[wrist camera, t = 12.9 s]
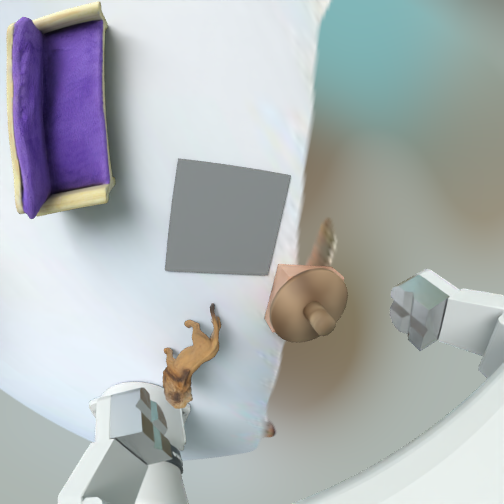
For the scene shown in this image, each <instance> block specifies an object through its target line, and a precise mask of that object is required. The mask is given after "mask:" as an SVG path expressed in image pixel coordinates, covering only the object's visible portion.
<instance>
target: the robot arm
mask: <svg viewBox="0 0 504 504" xmlns="http://www.w3.org/2000/svg"><path fill="white" fill-rule="evenodd" d="M391 298H392V299H393V300H394V301H393V303H392V305H391V307H390V317H391V320H392V323H393V324H394V326H395V327H396V328H397V329H398V330H399V331H400V332H403V333H406V334H408V340H409V341H410V342H411V343H412V344H413V345H414V346H415V347H416V348H417V349H418V350H419V351H421V350H423V349H424V348H426V347H428V346H429V345H431V344H432V343H434V342H435V341H437V340H438V341H440V342H443V343H446V344H448V345H451V346H454V347H457V348H460V349H463V350H466V351H469V352H472V353H475V354H478V355H481V356H483V358H482V360H481V362H480V364H479V371H480V372H481V373H482V374H483V375H484V376H485V377H486V378H487V380H486V381H485V382H484V383H483V384H482V385H481V386H479V387H478V388H477V389H476V390H475V391H474V392H473V393H472V394H471V395H470V396H469V397H467V398H466V399H465V400H464V401H463V402H462V403H461V404H460V405H458V406H457V407H456V408H455V409H453V410H452V411H451V412H450V413H449V414H447V415H446V416H445V417H444V418H442V419H441V420H440V421H438V422H437V423H436V424H435V425H433V426H432V427H431V428H429V429H428V430H427V431H425V432H424V433H422V434H421V435H420V436H418V437H417V438H415V439H414V440H412V441H411V442H409V443H408V444H407V445H405V446H403V447H402V448H401V449H399V450H397V451H396V452H394V453H393V454H391V455H389V456H388V457H386V458H384V459H383V460H381V461H379V462H378V463H376V464H374V465H373V466H371V467H369V468H367V469H365V470H363V471H362V472H360V473H358V474H356V475H354V476H352V477H350V478H348V479H346V480H344V481H342V482H340V483H338V484H336V485H334V486H332V487H330V488H327V489H325V490H323V491H321V492H319V493H316V494H314V495H311V496H309V497H307V498H304V499H302V500H299V501H297V502H294V503H291V504H504V295H500V294H494V293H487V292H482V291H476V290H470V289H464V288H462V289H461V290H459V289H458V288H456V287H455V286H454V285H452V284H451V283H449V282H448V281H446V280H445V279H443V278H441V277H440V276H439V275H437V274H436V273H434V272H433V271H431V270H429V269H425V270H423V271H421V272H419V273H417V274H416V275H414V276H412V277H410V278H408V279H407V280H405V281H403V282H401V283H399V284H398V285H396V286H394V287H393V288H392V290H391ZM89 408H90V410H91V412H92V413H93V415H94V417H95V418H96V424H95V442H91V444H90V445H89V447H88V448H87V450H86V451H85V453H84V455H83V456H82V458H81V459H80V461H79V463H78V464H77V466H76V467H75V469H74V471H73V472H72V474H71V476H70V477H69V479H68V481H67V483H66V484H65V486H64V487H63V489H62V491H61V492H60V494H59V496H58V504H189V503H188V499H187V496H186V492H185V488H184V484H183V480H182V475H181V474H182V473H183V467H182V466H183V463H182V459H181V456H180V452H179V451H182V450H184V445H185V444H186V436H185V429H184V424H185V422H186V419H187V417H188V415H189V412H190V404H188V403H187V405H186V407H185V408H180V409H175V408H174V407H173V406H172V405H171V404H169V403H168V401H167V400H166V399H165V395H164V388H162V387H160V386H157V385H154V384H150V383H144V382H126V383H120V384H117V385H114V386H112V387H110V388H108V389H107V390H106V391H105V392H104V393H103V394H102V395H101V396H100V397H98V398H96V399H93V400H91V401H90V402H89Z"/></svg>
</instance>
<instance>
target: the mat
mask: <svg viewBox="0 0 504 504" xmlns="http://www.w3.org/2000/svg"><path fill="white" fill-rule="evenodd" d="M290 177H291V176H290V175H286V174H281V173H275V172H269V171H264V170H258V169H251V168H245V167H239V166H232V165H225V164H218V163H211V162H203V161H195V160H186V159H178V164H177V170H176V177H175V184H174V191H173V199H172V207H171V215H170V224H169V233H168V243H167V253H166V265H165V271H181V272H201V273H223V274H247V275H268V271H269V267H270V263H271V259H272V255H273V250H274V246H275V242H276V238H277V233H278V229H279V225H280V221H281V216H282V212H283V208H284V203H285V199H286V194H287V190H288V186H289V181H290Z"/></svg>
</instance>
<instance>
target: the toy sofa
mask: <svg viewBox="0 0 504 504" xmlns="http://www.w3.org/2000/svg"><path fill="white" fill-rule="evenodd" d="M107 26H108V25H107V22H106V19H105V17H104V15H103V13H102V11H101V3H100V2H94V3H90V4H86V5H82V6H78V7H74V8H70V9H67V10H63V11H60V12H56V13H53V14H50V15H47V16H44V17H41V18H38V19H35V20H31V19H29V18H26V17H22V18H21V19H20V20H18V21H17V22H15V23H13V24H11V25H9V27H8V29H7V115H8V131H9V141H10V150H11V158H12V165H13V174H14V188H15V203H16V208H17V212H18V213H19V214H23V213H26V214H27V215H28V216H29V218H30V219H34V218H35V216H42V215H47V214H52V213H56V212H61V211H66V210H72V209H77V208H82V207H88V206H93V205H99V204H105V203H107V202H108V200H109V192H110V191H111V189H112V188H113V187H114V186H115V177H112V170H111V163H110V154H109V146H108V135H107V123H106V108H105V84H104V47H105V30H106V29H107Z"/></svg>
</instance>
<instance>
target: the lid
mask: <svg viewBox="0 0 504 504" xmlns="http://www.w3.org/2000/svg"><path fill="white" fill-rule="evenodd" d="M347 298H348V292H347V287H346V285H345V283H344V281H343V280H342V279H341V278H340V277H339V276H338V275H337V274H336V273H334V272H333V271H331V270H328V269H324V268H314V269H309V270H306V271H303V272H301V273H299V274H297V275H295V276H293V277H292V278H291V279H289V280H288V281H287V282H286V283H285V284H284V285H283V286H282V287H281V288H280V289H279V291H278V292H277V293H276V295H275V297H274V299H273V301H272V303H271V307H270V312H269V317H270V322H271V325H272V327H273V329H274V330H275V332H276V333H277V335H278V336H279V337H281V338H282V339H284V340H286V341H290V342H305V341H310V340H312V339H315V338H317V337H319V336H325V335H328V334H330V333H331V332H332V331H333V330H334V328H335V325H336V322H337V321H338V320H339V318H340V317H341V315H342V313H343V311H344V309H345V307H346V303H347Z"/></svg>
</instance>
